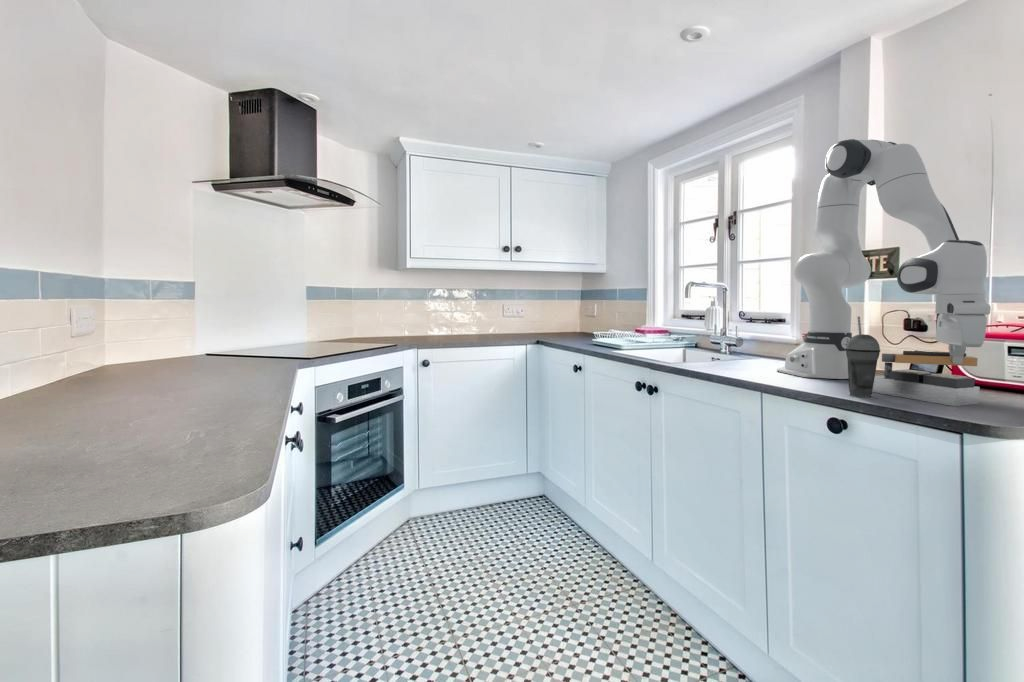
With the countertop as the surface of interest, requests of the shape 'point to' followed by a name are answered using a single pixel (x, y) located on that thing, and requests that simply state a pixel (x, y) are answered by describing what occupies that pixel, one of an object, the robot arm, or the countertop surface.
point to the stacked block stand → (927, 386)
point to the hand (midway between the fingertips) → (956, 363)
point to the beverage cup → (862, 363)
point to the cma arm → (927, 358)
